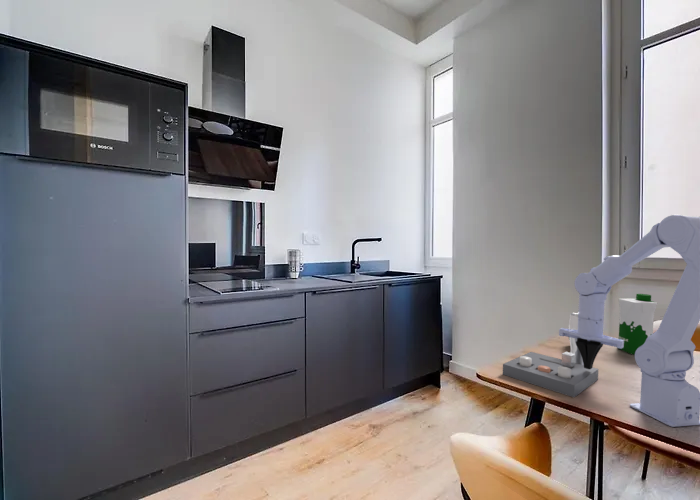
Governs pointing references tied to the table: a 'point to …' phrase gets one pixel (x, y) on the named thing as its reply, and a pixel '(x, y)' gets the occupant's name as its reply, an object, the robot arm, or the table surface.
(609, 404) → the table surface
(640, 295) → the milk carton
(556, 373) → the control panel
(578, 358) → the beer glass
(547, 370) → the middle button
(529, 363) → the far button
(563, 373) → the near button
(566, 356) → the slider knob
